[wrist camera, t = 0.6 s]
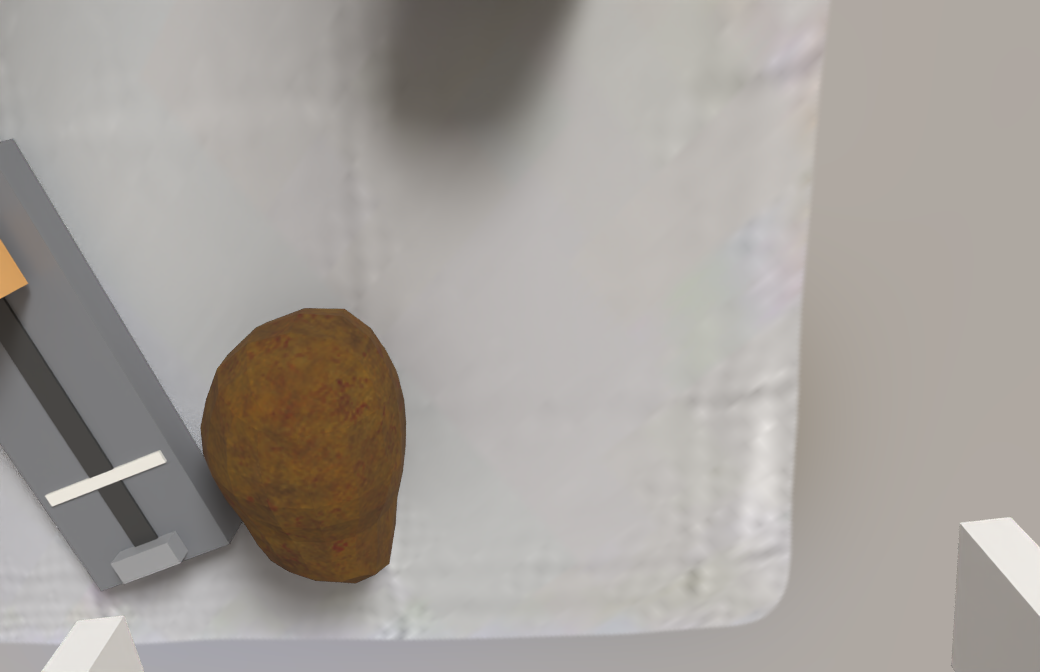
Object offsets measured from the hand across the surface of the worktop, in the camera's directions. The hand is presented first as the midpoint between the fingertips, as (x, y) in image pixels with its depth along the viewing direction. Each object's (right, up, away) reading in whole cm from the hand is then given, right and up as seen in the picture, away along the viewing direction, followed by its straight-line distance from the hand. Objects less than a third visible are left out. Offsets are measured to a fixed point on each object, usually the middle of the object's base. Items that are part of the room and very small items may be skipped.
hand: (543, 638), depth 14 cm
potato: (-10, +2, +27) cm, 29 cm away
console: (-21, +3, +26) cm, 34 cm away
